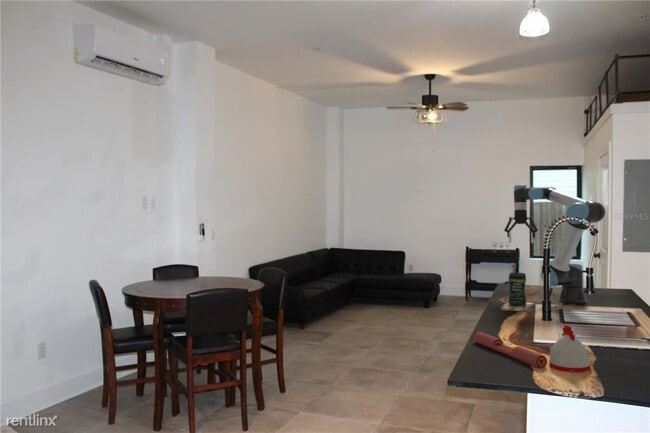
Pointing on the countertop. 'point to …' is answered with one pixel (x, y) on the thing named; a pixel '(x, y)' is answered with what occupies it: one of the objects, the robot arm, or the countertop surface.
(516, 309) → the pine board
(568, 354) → the grey hat
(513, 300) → the coffee jar
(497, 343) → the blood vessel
